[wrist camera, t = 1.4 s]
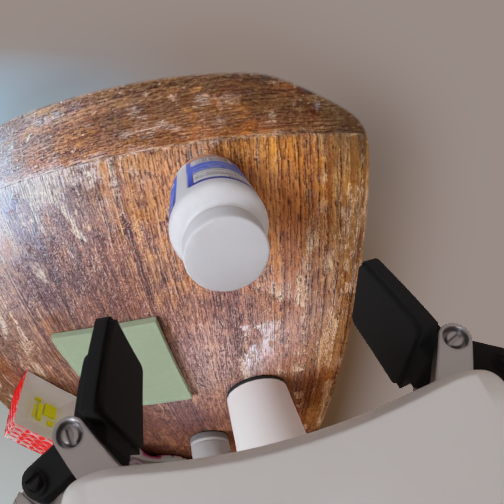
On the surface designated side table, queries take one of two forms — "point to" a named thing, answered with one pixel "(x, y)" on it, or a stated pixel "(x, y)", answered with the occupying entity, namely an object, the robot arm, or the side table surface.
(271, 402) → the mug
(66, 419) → the robot arm
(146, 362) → the mat
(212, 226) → the pill bottle
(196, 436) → the travel mug
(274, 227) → the side table surface
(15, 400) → the red patterned cube box
